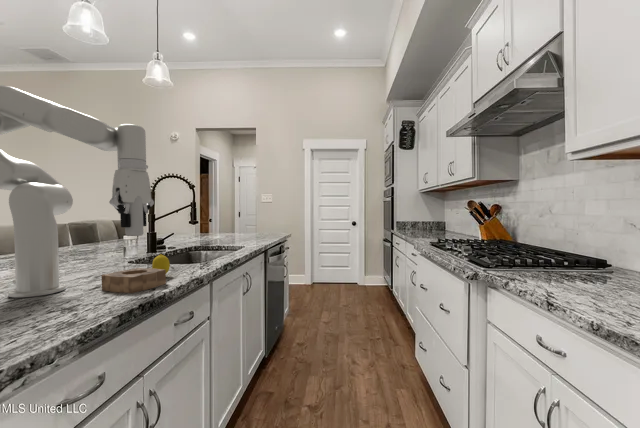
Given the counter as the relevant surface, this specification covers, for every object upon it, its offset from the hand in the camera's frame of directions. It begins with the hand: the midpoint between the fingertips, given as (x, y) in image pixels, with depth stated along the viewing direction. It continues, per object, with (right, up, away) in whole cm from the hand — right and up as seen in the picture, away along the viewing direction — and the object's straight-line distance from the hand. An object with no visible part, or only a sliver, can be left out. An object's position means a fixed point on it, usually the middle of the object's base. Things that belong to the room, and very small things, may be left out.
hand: (133, 226), depth 99 cm
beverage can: (0, -3, 0) cm, 3 cm away
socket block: (0, -18, 0) cm, 18 cm away
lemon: (+1, -19, +15) cm, 24 cm away
